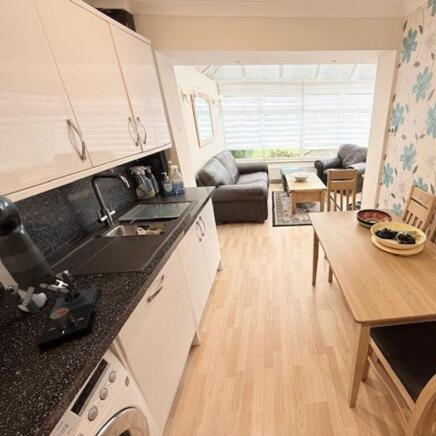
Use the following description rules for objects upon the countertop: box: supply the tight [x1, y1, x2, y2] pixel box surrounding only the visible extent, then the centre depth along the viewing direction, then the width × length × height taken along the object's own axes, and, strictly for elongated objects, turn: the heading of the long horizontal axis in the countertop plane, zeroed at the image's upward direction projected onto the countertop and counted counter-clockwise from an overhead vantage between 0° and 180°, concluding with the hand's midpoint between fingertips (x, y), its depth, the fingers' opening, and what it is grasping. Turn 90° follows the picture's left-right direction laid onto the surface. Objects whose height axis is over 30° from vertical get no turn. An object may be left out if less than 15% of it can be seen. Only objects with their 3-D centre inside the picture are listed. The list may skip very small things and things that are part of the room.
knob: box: [49, 308, 75, 330], centre depth 76 cm, size 4×4×5 cm
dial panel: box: [36, 307, 96, 352], centre depth 78 cm, size 12×10×3 cm
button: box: [63, 289, 79, 301], centre depth 88 cm, size 4×4×2 cm
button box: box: [49, 286, 99, 318], centre depth 89 cm, size 12×10×4 cm
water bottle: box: [0, 260, 47, 313], centre depth 85 cm, size 7×7×25 cm
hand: (54, 305), depth 74 cm, fingers open, 8 cm apart
